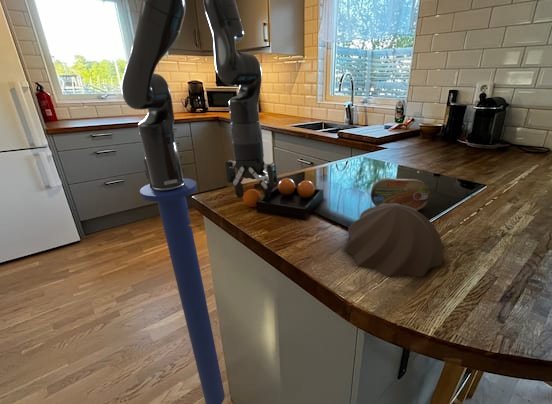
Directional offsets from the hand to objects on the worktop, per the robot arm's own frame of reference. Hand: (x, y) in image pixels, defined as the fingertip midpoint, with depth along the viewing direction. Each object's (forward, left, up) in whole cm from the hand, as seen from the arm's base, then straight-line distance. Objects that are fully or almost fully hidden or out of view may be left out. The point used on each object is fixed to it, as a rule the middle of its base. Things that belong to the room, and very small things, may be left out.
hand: (253, 198), depth 82 cm
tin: (+38, +12, -3) cm, 40 cm away
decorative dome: (+39, -9, -3) cm, 40 cm away
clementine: (0, 0, -2) cm, 2 cm away
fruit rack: (+10, +4, -2) cm, 11 cm away
